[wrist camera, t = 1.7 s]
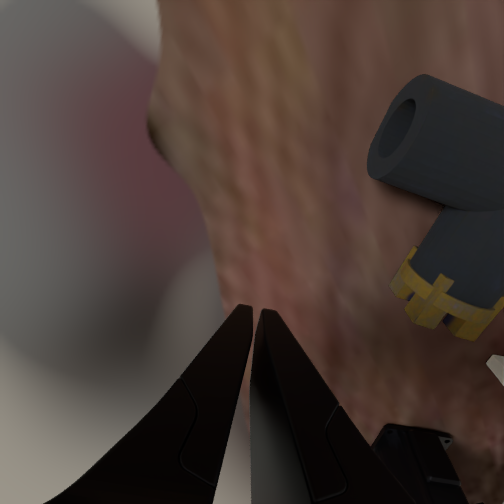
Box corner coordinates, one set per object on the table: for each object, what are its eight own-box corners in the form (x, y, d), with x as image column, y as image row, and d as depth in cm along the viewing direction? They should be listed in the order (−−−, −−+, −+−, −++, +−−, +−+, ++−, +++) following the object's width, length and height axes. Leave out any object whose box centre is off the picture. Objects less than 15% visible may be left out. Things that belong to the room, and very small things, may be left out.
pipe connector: (559, 374, 19) (327, 303, 17) (500, 317, 24) (313, 257, 22) (752, 195, 14) (454, 70, 12) (628, 169, 19) (401, 76, 17)
